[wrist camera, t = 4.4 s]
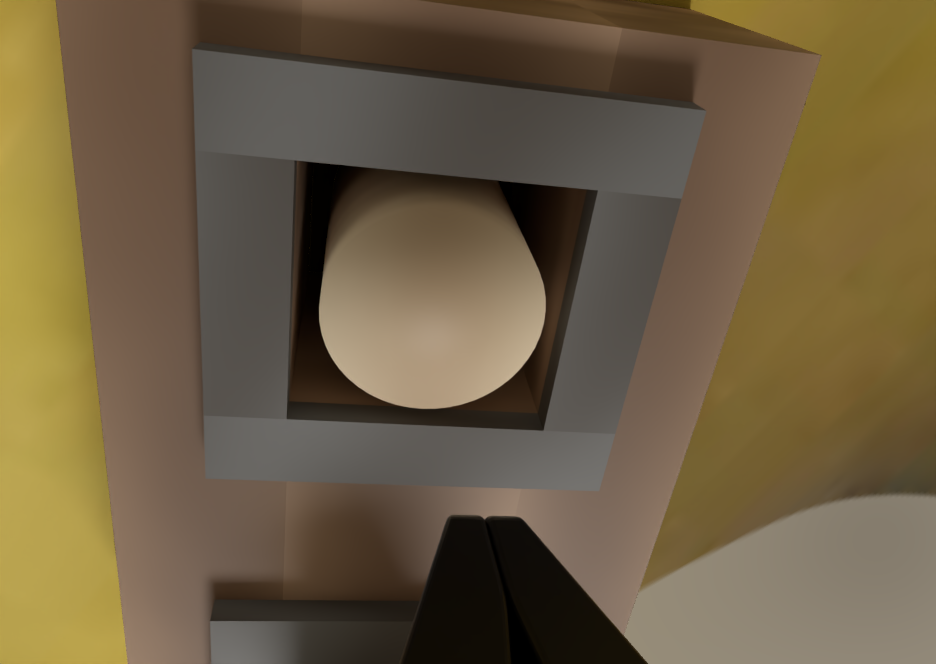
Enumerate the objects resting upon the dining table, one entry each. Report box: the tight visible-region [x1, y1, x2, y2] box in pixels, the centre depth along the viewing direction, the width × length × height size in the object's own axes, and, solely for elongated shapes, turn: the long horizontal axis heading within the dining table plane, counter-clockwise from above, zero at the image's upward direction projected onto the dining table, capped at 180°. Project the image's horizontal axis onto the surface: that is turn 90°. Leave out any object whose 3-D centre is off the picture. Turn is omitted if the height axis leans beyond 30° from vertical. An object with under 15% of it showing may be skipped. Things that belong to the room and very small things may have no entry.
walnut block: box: [56, 0, 821, 664], centre depth 19 cm, size 12×22×7 cm, turn 172°
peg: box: [319, 165, 546, 409], centre depth 16 cm, size 4×4×6 cm
